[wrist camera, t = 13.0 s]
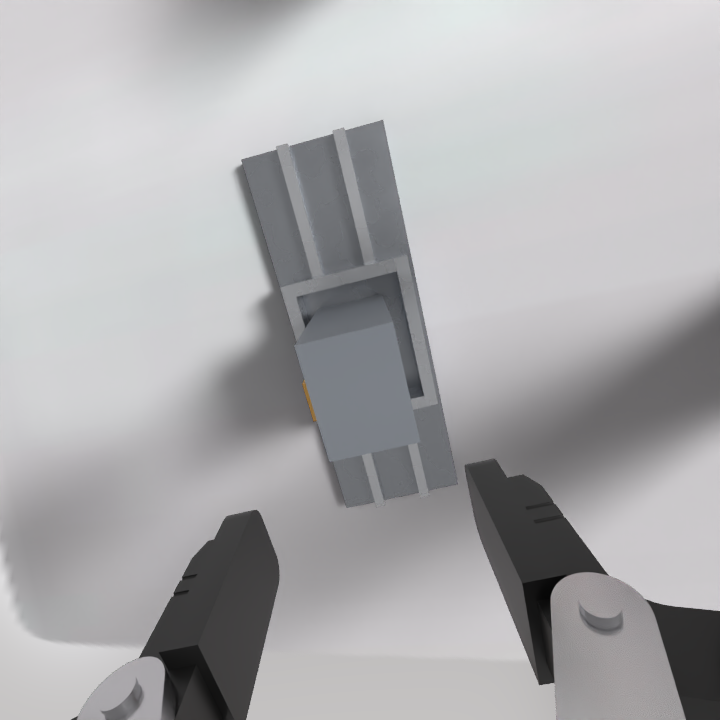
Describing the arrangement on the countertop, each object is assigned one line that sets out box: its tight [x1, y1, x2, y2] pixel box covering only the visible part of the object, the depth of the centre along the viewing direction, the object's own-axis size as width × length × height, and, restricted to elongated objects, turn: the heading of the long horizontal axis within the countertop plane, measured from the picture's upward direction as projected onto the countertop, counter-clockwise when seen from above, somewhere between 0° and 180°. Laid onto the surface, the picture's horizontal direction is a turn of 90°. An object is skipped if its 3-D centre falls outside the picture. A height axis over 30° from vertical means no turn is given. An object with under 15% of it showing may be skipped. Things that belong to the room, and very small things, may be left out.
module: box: [294, 294, 420, 462], centre depth 23 cm, size 6×5×10 cm
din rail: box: [241, 120, 458, 508], centre depth 27 cm, size 26×9×3 cm, turn 14°
